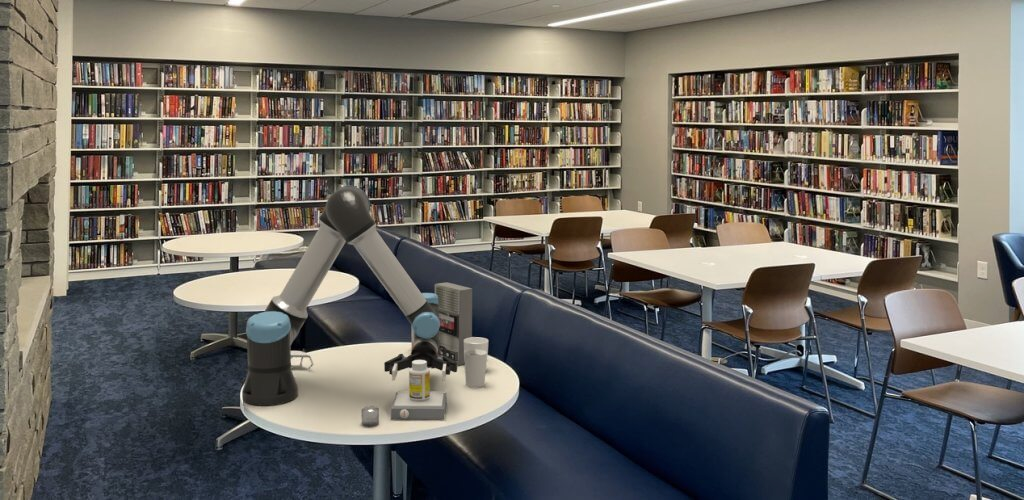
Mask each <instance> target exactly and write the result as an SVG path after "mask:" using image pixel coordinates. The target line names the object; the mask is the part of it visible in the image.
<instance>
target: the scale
mask: <svg viewBox="0 0 1024 500" xmlns="http://www.w3.org/2000/svg"><path fill="white" fill-rule="evenodd" d="M446 408H447V392H444V391H442V390H441V391H435V390H434V391H433V390H430V397H429V398H428V399H427V400H423V401H415V400H412V399H410V397H409V390H401V391H400V390H399V391H398V392H395V396H394V399H393V401H392V404H391V408H390V420H395V421H396V420H398V421H399V420H400V421H401V420H402V421H403V420H409V421H410V420H414V421H415V420H418V421H419V420H421V421H422V420H423V421H424V420H430V421H432V420H435V421H437V420H439V421H440V420H441V421H442V420H445V418H446Z"/></svg>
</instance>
